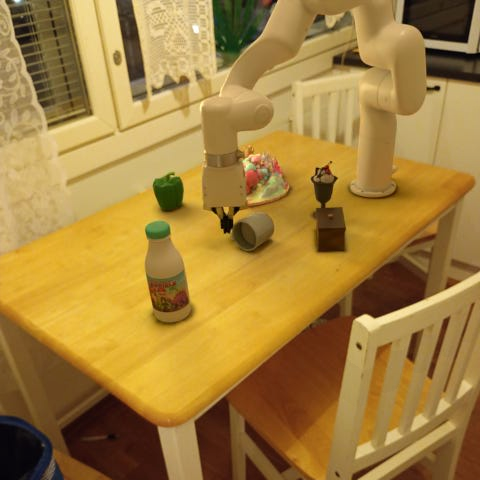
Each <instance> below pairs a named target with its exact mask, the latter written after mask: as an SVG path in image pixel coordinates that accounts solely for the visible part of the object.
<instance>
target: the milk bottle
mask: <svg viewBox="0 0 480 480" xmlns="http://www.w3.org/2000/svg"><path fill="white" fill-rule="evenodd" d="M144 232H145V236H146V240H147V241H148V245H147V250H146V255H145V259H144V270H145V277H146V281H147V287H148V292H149V296H150V301H151V305H152V311H153V314H154V316H155V318H156V319H157V320H159V321H160V322H163V323H177V322H181V321H182V320H184V319H186V318H187V317H188V316H189V315H190V314H191V310H192V303H191V297H190V291H189V284H188V278H187V273H186V267H185V262H184V259H183V256H182V254H181V253H180V251H179V250H178V249H177V247H176V246H175V244H174V242H173V240H172V238H171V236H172V232H171V225H170V223H169V222H167V221H165V220H155V221H151V222H149V223H147V224H146V225H145V227H144Z"/></svg>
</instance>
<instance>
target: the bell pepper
mask: <svg viewBox="0 0 480 480" xmlns="http://www.w3.org/2000/svg"><path fill="white" fill-rule="evenodd" d="M175 175H176V171H169V172H167V173H166V174H165V175H163V176H161V177H159V178H154V180H153V183H152V189H153V190H152V191H153V193H154V197H155V199H156V201H157V203H158V205H159V207H160V208H161V210H166V211H171V210H173V209H175V208H179V207H181V205H182V203H183V201H184V194H185V190H184V189H185V188H184V183H183V180H182V179H181V177H180V176H175ZM172 176H173V177H172Z"/></svg>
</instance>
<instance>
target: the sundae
mask: <svg viewBox="0 0 480 480" xmlns="http://www.w3.org/2000/svg"><path fill="white" fill-rule="evenodd" d="M332 163H333V161H332V160H329V162H328V163H327V164H326V165H324V166H322V167H318V166H316V167H315V170H314V171H315V172H314V175H312V176H310V181H311V183H312V184H313V190H314V197H315V200H316V201H317V202H318V203H319V204H320V208H326V205H327V203H328V202H329V201H330V200H331V199H332V196H333V192H334V185H335V183H336V182H337V181H338V179H339V177H338V176H336V175H334V174H333V173H332V170H331V168H330V165H331V164H332ZM313 217H314V218H316V211H314V212H313Z"/></svg>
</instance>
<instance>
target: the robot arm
mask: <svg viewBox="0 0 480 480" xmlns="http://www.w3.org/2000/svg"><path fill="white" fill-rule="evenodd" d="M351 10H352V14H353V20H354V26H355V27H354V28H355V32H356V33H355V34H356V41H357V49H358V54H359V57H360V60H361V61H362V62H363V63H364V64H365V65H368V66H370V67H371V68H368V69H367V70H366V71H365V72H364V73H363V74H362V76H361V77H360V80H359V82H358V85H357V86H358V87H357V96H358V97H357V98H358V103H359V104H358V106H359V130H358V131H359V132H358V143H357V144H358V145H357V159H356V160H357V161H356V174H355V178H354V179H353V180H351V181H350V183H349V190H350V192H351V193H353V194H355V195H356V196H360V197H364V198H372V199H373V198H375V199H376V198H384V197H388V196H390V195H392V194H393V193H395V191H396V189H397V184H396V182H395V181H394V180H392V176H393V174H395V173H396V172H397V171H398V167H397V166H396V165H393V163H394V158H395V157H394V156H395V147H396V139H397V131H398V121H397V115H399V116H403V117H404V116H405V117H409V116H412V115H415V114H416V113H418V112H419V111H420V109H422V107H423V105H424V103H425V100H426V96H427V91H428V89H427V85H428V84H427V82H428V81H427V78H428V77H427V60H426V43H425V39H424V36H423V35H422V32H420V30H419V29H418V28H417V27H415V26H413V25H410V24H405V23H398V22H397V21H396V20H395V16H394V11H393V3H392V0H277V1H276V4H275V6H274V8H273V10H272V12H271V14H270V16H269V18H268V21H267V22H266V25H265V27H264V29H263V31H262V33H261V34H260V35H259V36H258V37H257V39H255V41H253V42H252V43H251V44H250V45H249V46H248V47H247V48H246V49H245V50H244V51H243V52H242V53H241V54H240V55H239V56H238V58H237V59H236V60H235V62H234V63H233V64H232V66H231V68H230V69H229V71H228V74H227V76H226V77H225V79H224V82H223V84H222V86H221V88H220V91H219V95H218V96H211V97H210V96H209V97H207V98H205V99H203V100H202V101H201V103H200V105H199V115H200V124H201V125H200V126H201V135H202V145H203V152H204V161H202V167H201V196H202V203H203V205H202V209H203V210H204V211H208V212H212V213H213V214H215V215H216V216H217V217H218V219H219V224H220V230H222V232H223V235H227V234H228V235H230V233H232V229H233V226H234V224H235V223H234V217H235V215H237V213H239V212H241V211H245V210H247V209H249V206H248V202H247V199H246V198H247V186H246V177H245V170H244V166H243V162H242V160H240V158H245V151H243V150H240V149H239V140H238V133H240V132H254V131H260V130H262V129H265V128H266V127H267V126H268V125H269V124H270V123H271V122H272V120H273V118H274V114H275V107H274V105H273V102H272V101H271V99H270V98H269V97H267V95H265V94H263V93H260V92H258V91H254V87H255V86H256V84H257V83H258V81H259V80H260V79H261V77H262V76H263V75H265V73H266V72H268V71H269V70H271V69H272V68H274V67H277V66H278V65H281V64H284V63H286V62H288V61H290V60H292V59H294V58H295V57H296V56H298V54H299V52H300V50H301V48H302V45H303V44H304V42H305V39H306V38H307V36H308V34H309V31H310V30H311V28H312V26H313V24H314V21H315V20H316V18H317V16H318V15H322V16H329V17H333V16H338V15H340V14H343V13H346V12H349V11H351ZM224 208H228V211H227V213H226V212H225V209H224Z"/></svg>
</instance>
